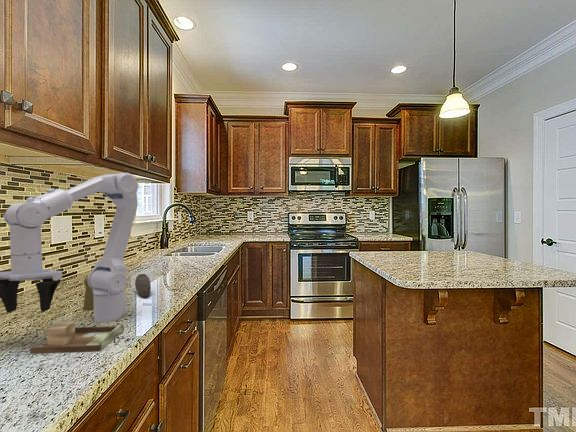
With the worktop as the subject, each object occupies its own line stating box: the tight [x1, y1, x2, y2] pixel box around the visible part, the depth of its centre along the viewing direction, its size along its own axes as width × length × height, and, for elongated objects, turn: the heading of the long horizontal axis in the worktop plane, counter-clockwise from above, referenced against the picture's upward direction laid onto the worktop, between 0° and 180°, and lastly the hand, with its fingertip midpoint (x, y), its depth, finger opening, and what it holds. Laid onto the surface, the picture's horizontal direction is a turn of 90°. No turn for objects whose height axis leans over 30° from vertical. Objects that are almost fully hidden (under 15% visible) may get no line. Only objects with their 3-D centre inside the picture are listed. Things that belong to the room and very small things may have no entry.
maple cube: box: [46, 321, 76, 346], centre depth 78 cm, size 4×4×4 cm
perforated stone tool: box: [134, 273, 152, 298], centre depth 124 cm, size 15×5×7 cm, turn 28°
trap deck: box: [29, 323, 125, 355], centre depth 78 cm, size 12×15×4 cm
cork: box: [83, 275, 94, 311], centre depth 108 cm, size 6×6×11 cm
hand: (28, 310), depth 76 cm, fingers open, 7 cm apart
